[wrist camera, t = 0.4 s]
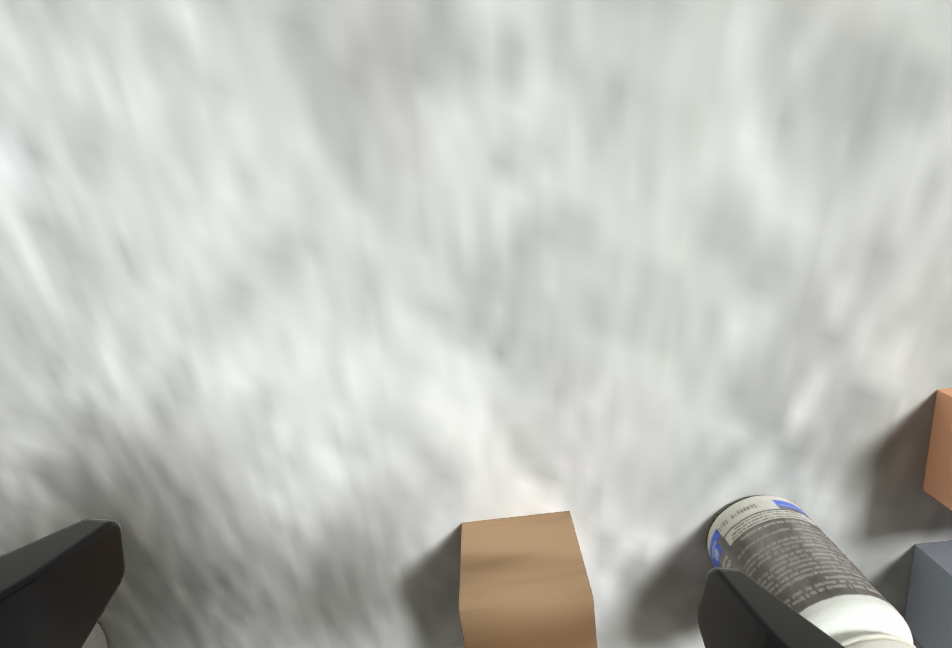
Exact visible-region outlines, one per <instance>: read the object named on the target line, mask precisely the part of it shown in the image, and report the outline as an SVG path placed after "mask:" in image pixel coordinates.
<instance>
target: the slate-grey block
mask: <svg viewBox="0 0 952 648" xmlns="http://www.w3.org/2000/svg"><path fill="white" fill-rule="evenodd" d="M904 620H905V622H906V623H907V625H908V627H909V629H910V631H911V634H912V637H913V638H914V639H915V640H916V641H917V642H918V643H919V644H920V645H921V646H922V647H923V648H952V540H950V541H941V542H931V543H922V544H915V548H914V555H913V562H912V569H911V576H910V583H909V590H908V596H907V603H906V610H905V617H904Z"/></svg>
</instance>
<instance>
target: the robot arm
mask: <svg viewBox="0 0 952 648" xmlns="http://www.w3.org/2000/svg"><path fill="white" fill-rule="evenodd" d="M124 572H125V556H124V548H123V539H122V530H121V526H120V524H119V523H118V522H117V521H115V520H108V519H95V518H90V519H85V520H83V521H80V522H78V523H76V524H73V525H71V526H69V527H67V528H64V529H62V530H60V531H57V532H55V533H53V534H51V535H48V536H46V537H44V538H41V539H39V540H37V541H35V542H32V543H30V544H28V545H26V546H23V547H21V548H19V549H16V550H14V551H12V552H10V553H7V554H5V555H3V556H0V648H82V647H83V646H84V644H85V642H86V641H87V639H88V637H89V636H90V634H91V632H92V630H93V629H94V627H95V625H96V624H97V622H98V620H99V619H100V617H101V615H102V614H103V612H104V610H105V609H106V607H107V605H108V603H109V602H110V600H111V598H112V597H113V595H114V593H115V592H116V590H117V588H118V587H119V585H120V583H121V581H122V578H123V576H124ZM698 623H699V628H700V631H701V635H702V638H703V641H704V645H705V648H845V647H844V646H842V645H841V644H840V643H838V642H837V641H836V640H834V639H833V638H832V637H830V636H829V635H828V634H826V633H825V632H823V631H822V630H821V629H819V628H818V627H817V626H815V625H814V624H813V623H811V622H810V621H808V620H807V619H806V618H804V617H803V616H802V615H800V614H799V613H798V612H796V611H795V610H793V609H792V608H791V607H789V606H788V605H787V604H785V603H784V602H783V601H781V600H780V599H778V598H777V597H776V596H774V595H773V594H772V593H770V592H769V591H768V590H766V589H765V588H763V587H762V586H761V585H759V584H758V583H757V582H755V581H754V580H753V579H751V578H750V577H748V576H747V575H746V574H744V573H743V572H741V571H740V570H737V569H729V568H712V569H711V570H710V571H709V572H708V575H707V578H706V581H705V585H704V589H703V593H702V596H701V600H700V604H699V608H698Z"/></svg>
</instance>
